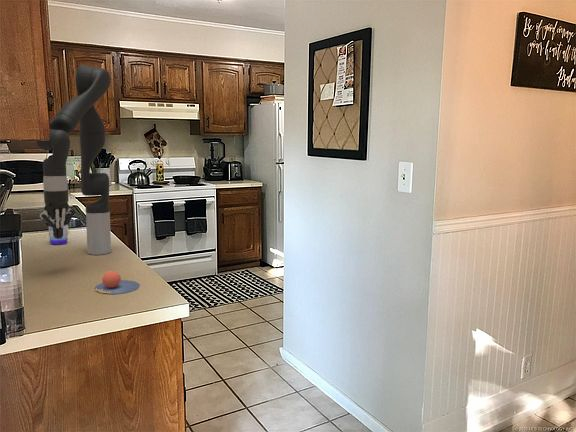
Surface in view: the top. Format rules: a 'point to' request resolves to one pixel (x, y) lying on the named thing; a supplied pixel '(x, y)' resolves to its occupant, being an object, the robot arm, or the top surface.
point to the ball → (111, 279)
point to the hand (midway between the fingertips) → (58, 238)
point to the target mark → (120, 287)
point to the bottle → (58, 241)
